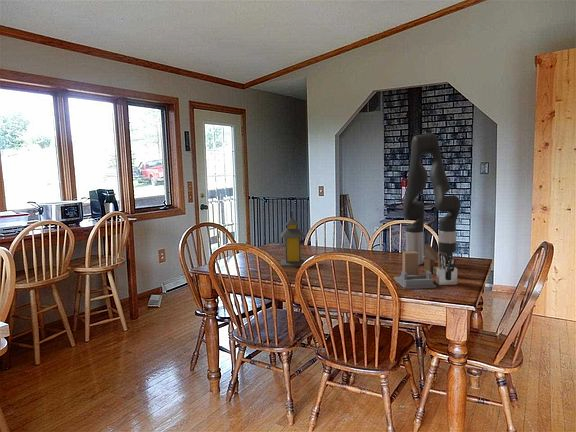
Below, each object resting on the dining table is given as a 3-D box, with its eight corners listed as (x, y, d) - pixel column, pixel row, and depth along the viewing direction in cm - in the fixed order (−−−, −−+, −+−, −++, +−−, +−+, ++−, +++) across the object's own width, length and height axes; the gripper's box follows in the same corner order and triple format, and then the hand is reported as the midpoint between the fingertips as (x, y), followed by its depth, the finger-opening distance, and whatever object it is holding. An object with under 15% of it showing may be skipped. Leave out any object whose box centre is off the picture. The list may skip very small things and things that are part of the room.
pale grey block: (436, 282, 200) (436, 267, 199) (454, 282, 200) (454, 267, 199) (439, 284, 196) (439, 269, 196) (457, 284, 197) (457, 268, 196)
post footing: (393, 278, 209) (393, 251, 207) (423, 277, 209) (423, 250, 207) (403, 289, 192) (403, 259, 190) (435, 287, 192) (436, 258, 191)
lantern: (280, 266, 240) (278, 211, 236) (280, 261, 254) (279, 209, 250) (306, 266, 240) (305, 210, 236) (305, 260, 254) (303, 208, 250)
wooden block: (428, 271, 220) (428, 235, 218) (447, 275, 212) (448, 238, 210) (423, 272, 218) (424, 236, 216) (443, 276, 210) (443, 239, 208)
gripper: (433, 238, 203) (432, 275, 205) (444, 244, 189) (444, 283, 191) (449, 237, 203) (449, 274, 205) (462, 243, 189) (461, 282, 191)
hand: (446, 278), depth 198 cm, fingers closed on pale grey block, 3 cm apart
